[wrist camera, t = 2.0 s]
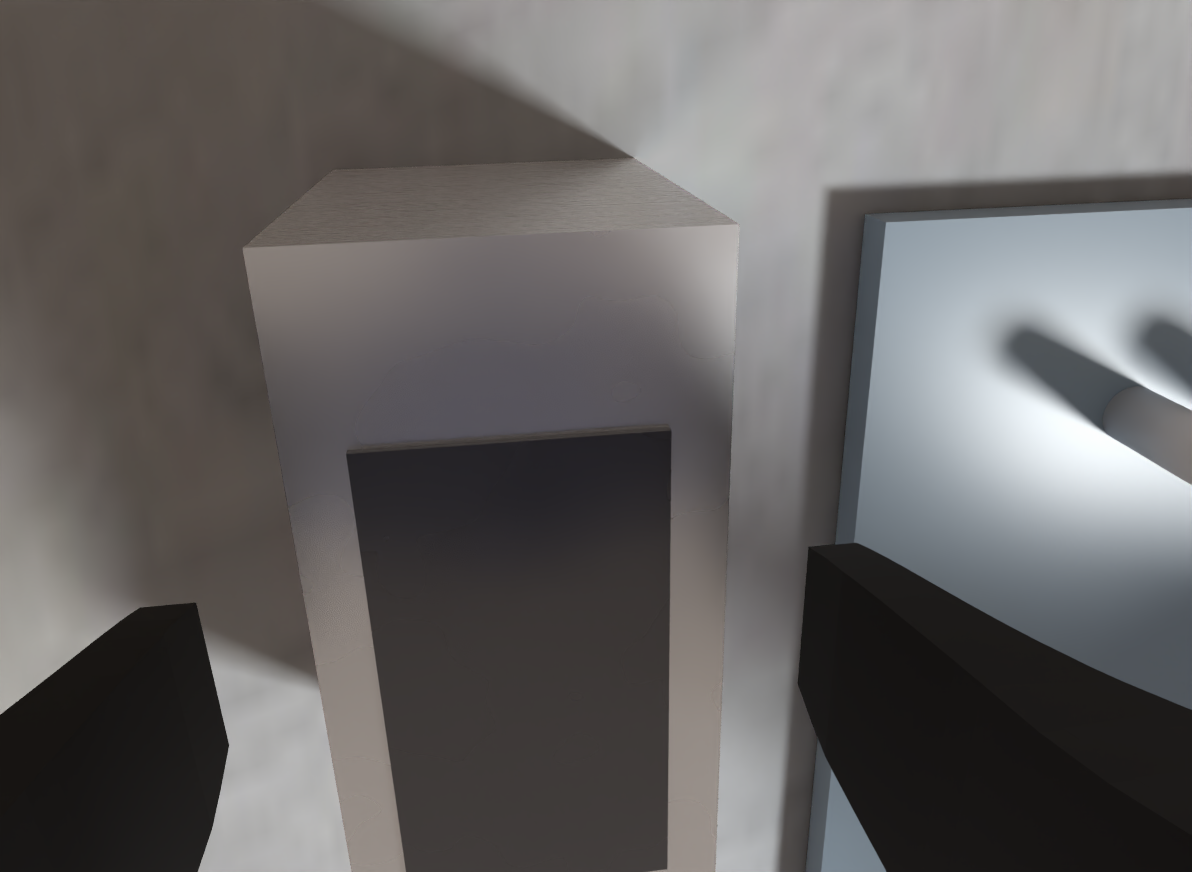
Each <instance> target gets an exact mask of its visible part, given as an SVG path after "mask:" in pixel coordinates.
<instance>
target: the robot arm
mask: <svg viewBox="0 0 1192 872" xmlns="http://www.w3.org/2000/svg"><path fill="white" fill-rule="evenodd" d="M798 685H799V688H800V691H801V694H802V697H803V699H804V702H805V705H806V708H807V711H808V713H809V716H810V719H811V722H812V724H813V727H814V730H815V732H816V735H817V737H818V740H819V742H820V745H821V747H822V750H823V753H824V755H825V757H826V759H827V761H828V763H829V765H830V767H831V769H832V771H833V773H834V775H835V777H836V779H837V780H838V782H839V784H840V786H841V788H842V790H843V792H844V794H845V796H846V797H847V799H848V801H849V803H850V805H851V807H852V809H853V811H854V813H855V814H856V816H857V818H858V820H859V822H860V824H861V826H862V827H863V829H864V831H865V833H866V835H867V837H868V838H869V840H870V842H871V844H872V846H873V848H874V850H875V851H876V853H877V855H878V857H879V859H880V861H881V863H882V864H883V866H884V868H885V870H886V872H1192V710H1191V709H1188V708H1186V707H1183V706H1181V705H1179V704H1176V703H1174V702H1171V701H1169V700H1167V699H1164V698H1162V697H1159V696H1157V695H1154V694H1152V693H1150V692H1147V691H1145V690H1142V689H1140V688H1138V687H1135V686H1133V685H1130V684H1128V683H1125V682H1123V681H1121V680H1119V679H1116V678H1114V677H1112V676H1110V675H1108V674H1105V673H1103V672H1101V671H1099V670H1096V669H1094V668H1092V667H1090V666H1088V665H1086V664H1084V663H1082V662H1080V661H1078V660H1076V659H1074V658H1072V657H1070V656H1068V655H1066V654H1064V653H1061V652H1059V651H1057V650H1055V649H1053V648H1051V647H1049V646H1047V645H1045V644H1043V643H1041V642H1039V641H1037V640H1035V639H1033V638H1031V637H1029V636H1028V635H1026V634H1024V633H1022V632H1020V631H1018V630H1016V629H1014V628H1012V627H1010V626H1008V625H1007V624H1005V623H1003V622H1001V621H999V620H997V619H995V618H994V617H992V616H990V615H988V614H986V613H985V612H983V611H981V610H979V609H977V608H975V607H974V606H972V605H970V604H968V603H966V602H965V601H963V600H961V599H959V598H958V597H956V596H954V595H952V594H951V593H949V592H947V591H945V590H943V589H942V588H940V587H938V586H936V585H935V584H933V583H931V582H929V581H928V580H926V579H924V578H922V577H921V576H919V575H917V574H915V573H914V572H912V571H910V570H908V569H907V568H905V567H903V566H901V565H899V564H898V563H896V562H894V561H892V560H890V559H889V558H887V557H885V556H883V555H881V554H879V553H877V552H875V551H873V550H871V549H869V548H867V547H865V546H863V545H861V544H859V543H847V544H836V545H825V546H814V547H809V548H808V561H807V574H806V586H805V599H804V612H803V624H802V637H801V650H800V663H799V675H798ZM228 748H229V743H228V739H227V735H226V730H225V726H224V722H223V717H222V713H221V709H220V704H219V700H218V696H217V691H216V687H215V683H214V678H213V674H212V670H211V665H210V661H209V657H208V652H207V648H206V644H205V639H204V635H203V631H202V627H201V622H200V618H199V614H198V609H197V605H196V603H187V604H176V605H165V606H154V607H143V608H139V609H137V610H136V611H134V612H133V613H131V614H130V615H128V616H127V617H126V618H124V619H123V620H121V621H120V622H119V623H117V624H116V625H115V626H113V627H112V628H111V629H109V630H108V631H107V632H105V633H104V634H103V635H102V636H100V637H99V638H98V639H96V640H95V641H94V642H93V643H91V644H90V645H89V646H87V647H86V648H85V649H84V650H82V651H81V652H80V653H79V654H77V655H76V656H75V657H74V658H72V659H71V660H70V661H68V662H67V663H66V664H65V665H63V666H62V667H61V668H60V669H58V670H57V671H56V672H55V673H53V674H52V675H51V676H49V677H48V678H47V679H46V680H44V681H43V682H42V683H40V684H39V685H38V686H37V687H35V688H34V689H33V690H32V691H30V692H29V693H28V694H26V695H25V696H24V697H23V698H21V699H20V700H19V701H17V702H16V703H15V704H14V705H12V706H11V707H10V708H8V709H7V710H6V711H5V712H3V713H2V714H1V715H0V872H198V869H199V866H200V863H201V860H202V857H203V854H204V851H205V848H206V845H207V842H208V839H209V836H210V833H211V830H212V827H213V822H214V817H215V813H216V808H217V804H218V799H219V795H220V790H221V785H222V779H223V774H224V769H225V764H226V758H227V753H228Z"/></svg>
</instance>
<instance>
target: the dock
mask: <svg viewBox="0 0 1192 872" xmlns="http://www.w3.org/2000/svg"><path fill="white" fill-rule="evenodd" d="M847 543H859V544H861V545H863V546H865V547H867V548H869V549H871V550H873V551H875V552H877V553H879V554H881V555H883V556H885V557H887V558H889V559H890V560H892V561H894V562H896V563H898V564H899V565H901V566H903V567H905V568H907V569H908V570H910V571H912V572H914V573H915V574H917V575H919V576H921V577H922V578H924V579H926V580H928V581H929V582H931V583H933V584H935V585H936V586H938V587H940V588H942V589H943V590H945V591H947V592H949V593H951V594H952V595H954V596H956V597H958V598H959V599H961V600H963V601H965V602H966V603H968V604H970V605H972V606H974V607H975V608H977V609H979V610H981V611H983V612H985V613H986V614H988V615H990V616H992V617H994V618H995V619H997V620H999V621H1001V622H1003V623H1005V624H1007V625H1008V626H1010V627H1012V628H1014V629H1016V630H1018V631H1020V632H1022V633H1024V634H1026V635H1028V636H1029V637H1031V638H1033V639H1035V640H1037V641H1039V642H1041V643H1043V644H1045V645H1047V646H1049V647H1051V648H1053V649H1055V650H1057V651H1059V652H1061V653H1064V654H1066V655H1068V656H1070V657H1072V658H1074V659H1076V660H1078V661H1080V662H1082V663H1084V664H1086V665H1088V666H1090V667H1092V668H1094V669H1096V670H1099V671H1101V672H1103V673H1105V674H1108V675H1110V676H1112V677H1114V678H1116V679H1119V680H1121V681H1123V682H1125V683H1128V684H1130V685H1133V686H1135V687H1138V688H1140V689H1142V690H1145V691H1147V692H1150V693H1152V694H1154V695H1157V696H1159V697H1162V698H1164V699H1167V700H1169V701H1171V702H1174V703H1176V704H1179V705H1181V706H1183V707H1186V708H1188V709H1191V710H1192V199H1171V200H1150V201H1129V202H1108V203H1086V204H1065V205H1044V206H1023V207H1002V208H981V209H960V210H938V211H917V212H896V213H875V214H865V221H864V232H863V243H862V254H861V265H860V276H859V287H858V298H857V309H856V320H855V331H854V343H853V354H852V365H851V376H850V387H849V398H848V409H847V420H846V431H845V442H844V453H843V464H842V475H841V486H840V497H839V508H838V519H837V530H836V541H835V545H836V544H847ZM806 872H886V870H885V868H884V866H883V864H882V863H881V861H880V859H879V857H878V855H877V853H876V851H875V850H874V848H873V846H872V844H871V842H870V840H869V838H868V837H867V835H866V833H865V831H864V829H863V827H862V826H861V824H860V822H859V820H858V818H857V816H856V814H855V813H854V811H853V809H852V807H851V805H850V803H849V801H848V799H847V797H846V796H845V794H844V792H843V790H842V788H841V786H840V784H839V782H838V780H837V779H836V777H835V775H834V773H833V771H832V769H831V767H830V765H829V763H828V761H827V759H826V757H825V755H824V753H823V750H822V747H821V745H820V742H819V740H817V751H816V762H815V773H814V784H813V795H812V806H811V817H810V828H809V839H808V850H807V861H806Z"/></svg>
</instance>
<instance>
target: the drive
mask: <svg viewBox="0 0 1192 872" xmlns="http://www.w3.org/2000/svg"><path fill="white" fill-rule="evenodd" d="M738 248H739V224H738V223H737V222H735V221H733V220H732V219H730V218H729V217H727V216H725V215H724V214H722V213H721V212H719V211H718V210H716V209H714V208H713V207H711V206H710V205H708V204H706V203H705V202H703V201H702V200H700V199H698V198H697V197H695V196H694V195H692V194H691V193H689V192H687V191H686V190H684V189H683V188H681V187H679V186H678V185H676V184H675V183H673V182H672V181H670V180H668V179H667V178H665V177H664V176H662V175H660V174H659V173H657V172H656V171H654V170H652V169H651V168H649V167H648V166H646V165H645V164H643V163H641V162H640V161H638V160H637V159H635V158H622V159H596V160H571V161H545V162H520V163H495V164H469V165H444V166H418V167H393V168H367V169H342V170H332V171H331V172H330V173H328V174H327V175H326V176H325V177H324V178H323V179H321V180H320V181H319V182H318V183H317V184H316V185H315V186H313V187H312V188H311V189H310V190H309V191H308V192H306V193H305V194H304V195H303V196H302V197H301V198H300V199H298V200H297V201H296V202H295V203H294V204H293V205H291V206H290V207H289V208H288V209H287V210H286V211H285V212H283V213H282V214H281V215H280V216H279V217H278V218H276V219H275V220H274V221H273V222H272V223H271V224H270V225H268V226H267V227H266V228H265V229H264V230H263V231H261V232H260V233H259V234H258V235H257V236H256V237H255V238H253V239H252V240H251V241H250V242H249V243H248V244H246V245H245V246H244V247H243V248H242V249H243V255H244V260H245V266H246V272H247V277H248V283H249V289H250V295H251V300H252V306H253V312H254V317H255V323H256V329H257V334H258V340H259V346H260V352H261V357H262V363H263V369H264V374H265V380H266V386H267V391H268V397H269V403H270V409H271V414H272V420H273V426H274V431H275V437H276V443H277V448H278V454H279V460H280V466H281V471H282V477H283V483H284V488H285V494H286V500H287V506H288V511H289V517H290V523H291V528H292V534H293V540H294V545H295V551H296V557H297V563H298V568H299V574H300V580H301V585H302V591H303V597H304V602H305V608H306V614H307V620H308V625H309V631H310V637H311V642H312V648H313V654H314V659H315V665H316V671H317V677H318V682H319V688H320V694H321V699H322V705H323V711H324V716H325V722H326V728H327V734H328V739H329V745H330V751H331V756H332V762H333V768H334V773H335V779H336V785H337V791H338V796H339V802H340V808H341V813H342V819H343V825H344V830H345V836H346V842H347V848H348V853H349V859H350V865H351V870H352V872H715V865H716V838H717V812H718V785H719V758H720V731H721V704H722V677H723V650H724V624H725V597H726V570H727V543H728V516H729V489H730V463H731V436H732V409H733V382H734V355H735V328H736V302H737V275H738Z"/></svg>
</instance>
